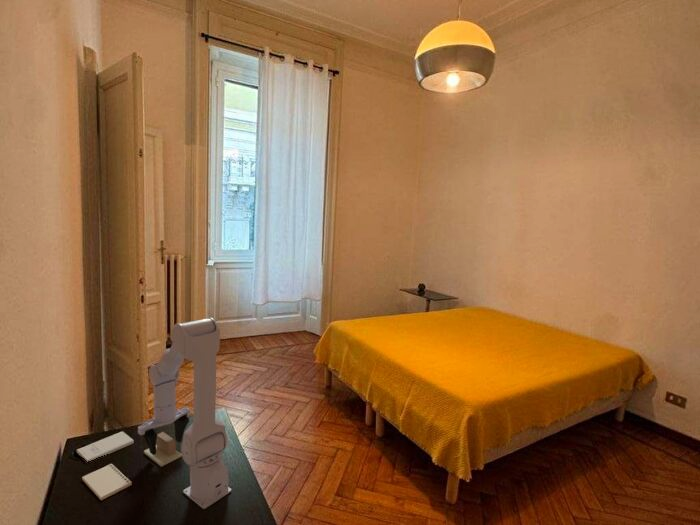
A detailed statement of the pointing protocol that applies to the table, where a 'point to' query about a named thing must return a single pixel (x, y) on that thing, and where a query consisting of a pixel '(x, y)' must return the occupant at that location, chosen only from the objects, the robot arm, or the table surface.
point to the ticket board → (106, 481)
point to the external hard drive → (105, 446)
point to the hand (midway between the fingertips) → (166, 446)
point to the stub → (164, 450)
